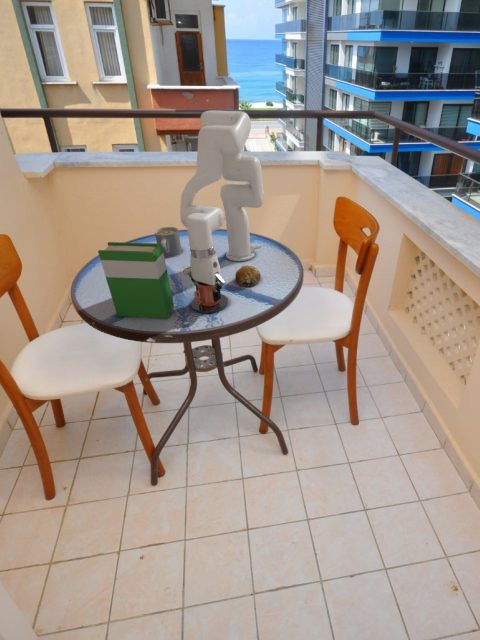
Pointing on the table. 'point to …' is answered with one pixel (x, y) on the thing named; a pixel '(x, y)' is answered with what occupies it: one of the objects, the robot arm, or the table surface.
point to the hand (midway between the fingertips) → (209, 297)
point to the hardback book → (137, 279)
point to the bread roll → (247, 276)
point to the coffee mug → (169, 240)
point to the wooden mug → (205, 294)
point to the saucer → (210, 309)
